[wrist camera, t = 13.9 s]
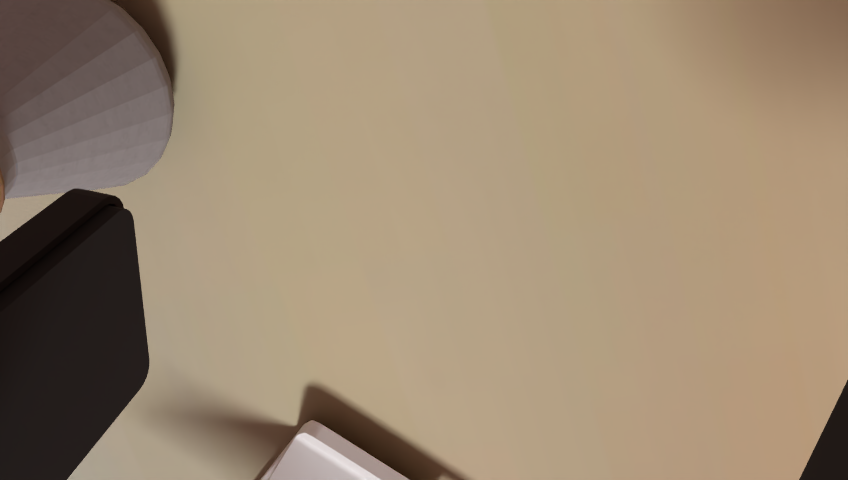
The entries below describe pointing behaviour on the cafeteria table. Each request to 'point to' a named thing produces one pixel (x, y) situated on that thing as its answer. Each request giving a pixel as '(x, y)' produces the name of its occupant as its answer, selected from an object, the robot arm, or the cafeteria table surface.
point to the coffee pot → (78, 97)
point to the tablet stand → (326, 459)
